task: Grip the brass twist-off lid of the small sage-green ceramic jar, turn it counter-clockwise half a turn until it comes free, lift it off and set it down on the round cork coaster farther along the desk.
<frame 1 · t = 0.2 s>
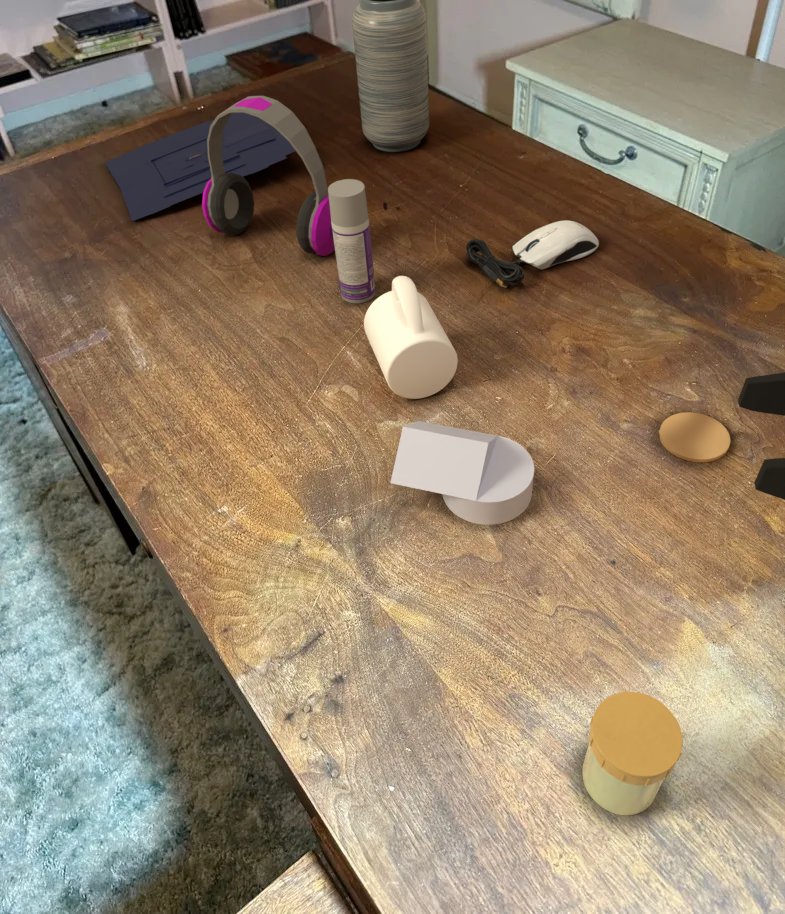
hand: (750, 431, 48), 23 cm above the table, tool horizontal, fingers open, 7 cm apart
lid: (636, 734, 51), point 7 cm above the table, screwed on, not yet turned
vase: (396, 142, 134), on the table
mug: (411, 372, 91), on the table
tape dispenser: (467, 487, 78), on the table
headphones: (279, 241, 113), on the table
coaster: (693, 438, 80), on the table
jar: (619, 777, 57), on the table
computer mouse: (538, 259, 106), on the table
container: (358, 294, 103), on the table
papers: (205, 171, 131), on the table
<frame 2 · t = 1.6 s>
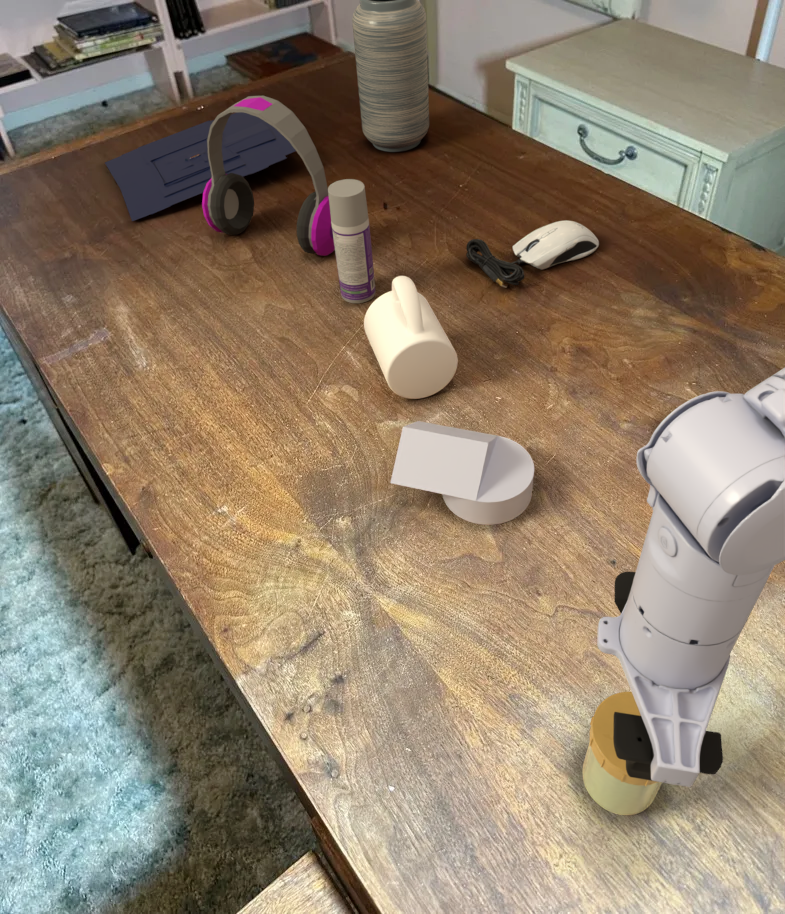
hand: (643, 714, 49), 10 cm above the table, tool pointing down, fingers open, 7 cm apart
nothing on the table moved.
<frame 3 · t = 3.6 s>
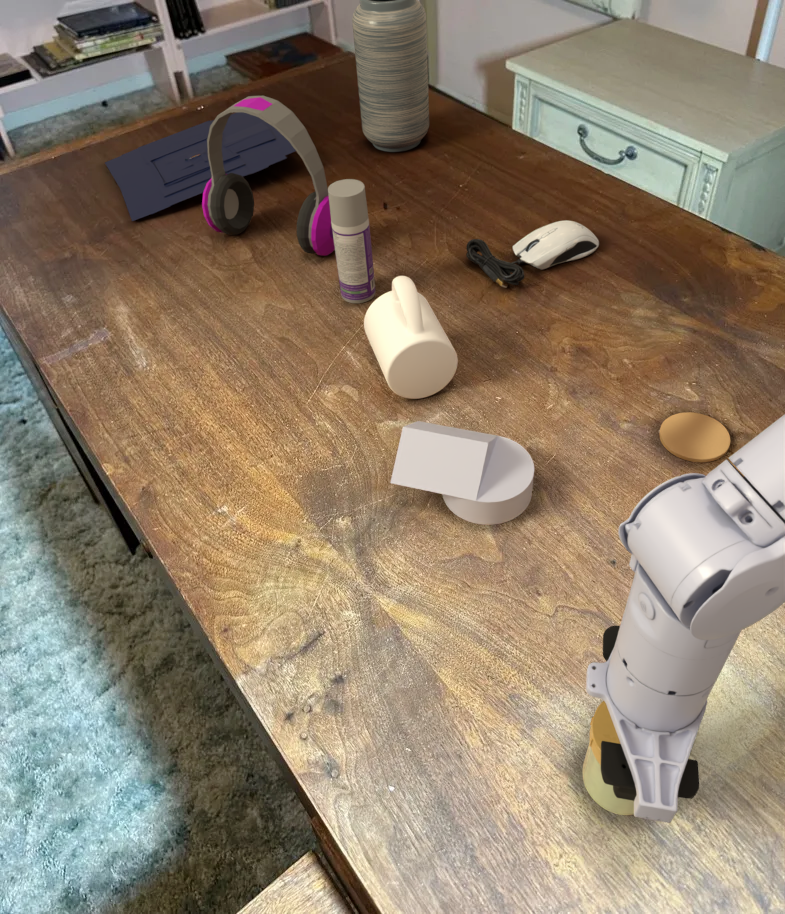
hand: (630, 748, 53), 5 cm above the table, tool pointing down, fingers closed on lid, 6 cm apart
lid: (636, 734, 51), point 7 cm above the table, screwed on, not yet turned, touching gripper
everything else where it was.
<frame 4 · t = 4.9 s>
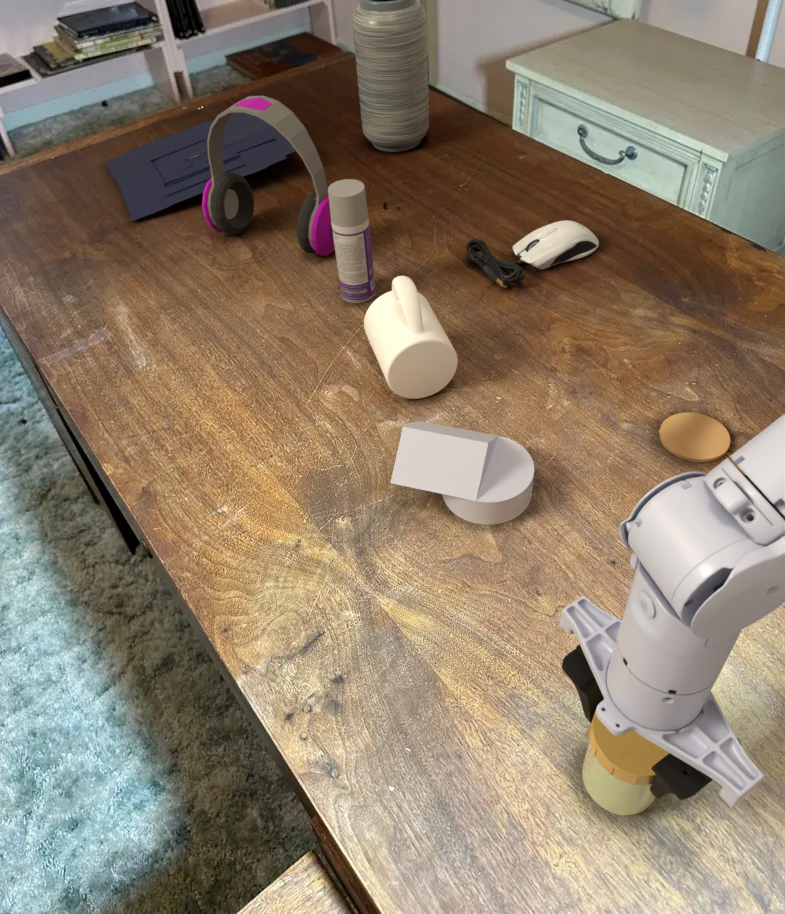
hand: (630, 748, 53), 5 cm above the table, tool pointing down, fingers closed on lid, 6 cm apart
lid: (636, 733, 51), point 8 cm above the table, turned 44° so far, risen 0.1 cm, still on its thread, touching gripper
everything else where it was.
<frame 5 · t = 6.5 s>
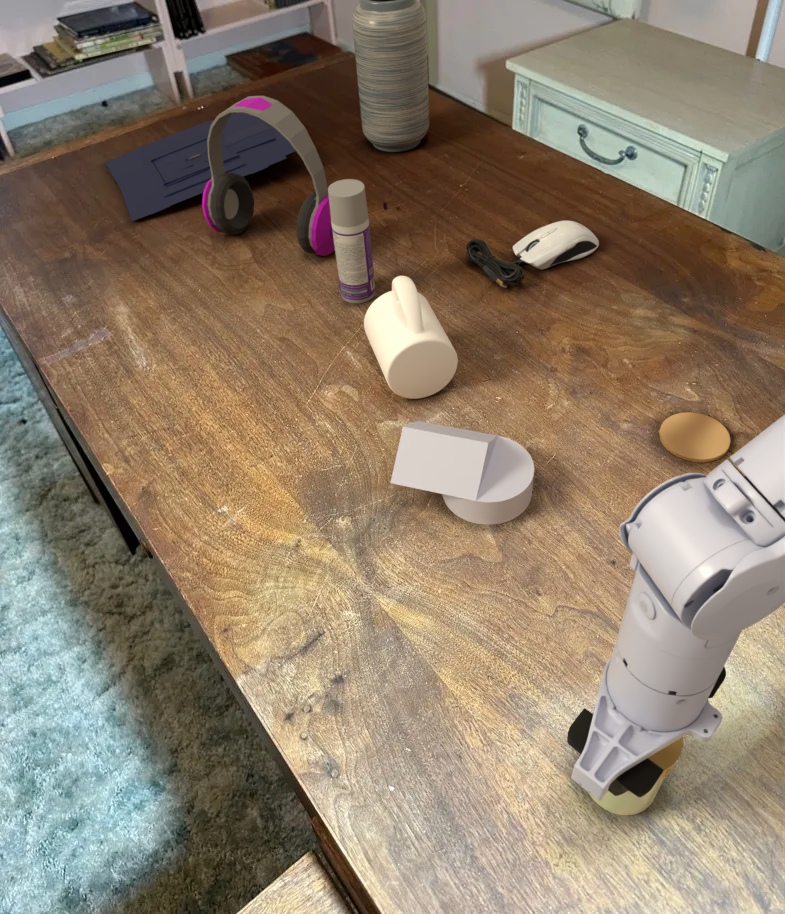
hand: (630, 748, 53), 5 cm above the table, tool pointing down, fingers closed on lid, 5 cm apart
lid: (636, 732, 51), point 8 cm above the table, off its thread, touching gripper
everything else where it was.
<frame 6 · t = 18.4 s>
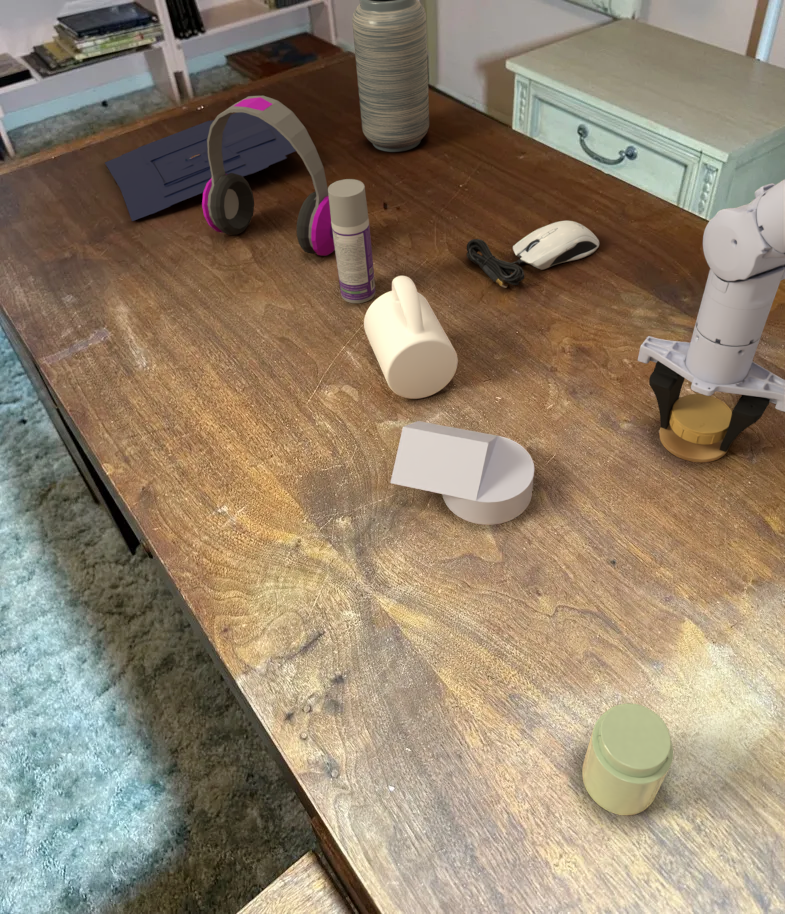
hand: (695, 433, 79), 1 cm above the table, tool pointing down, fingers closed on lid, 6 cm apart
lid: (701, 415, 78), point 3 cm above the table, off its thread, touching gripper
everything else where it was.
when the fingers open (3 cm above the table, at t = 28.7 s): lid drops 3 cm, resting on coaster.
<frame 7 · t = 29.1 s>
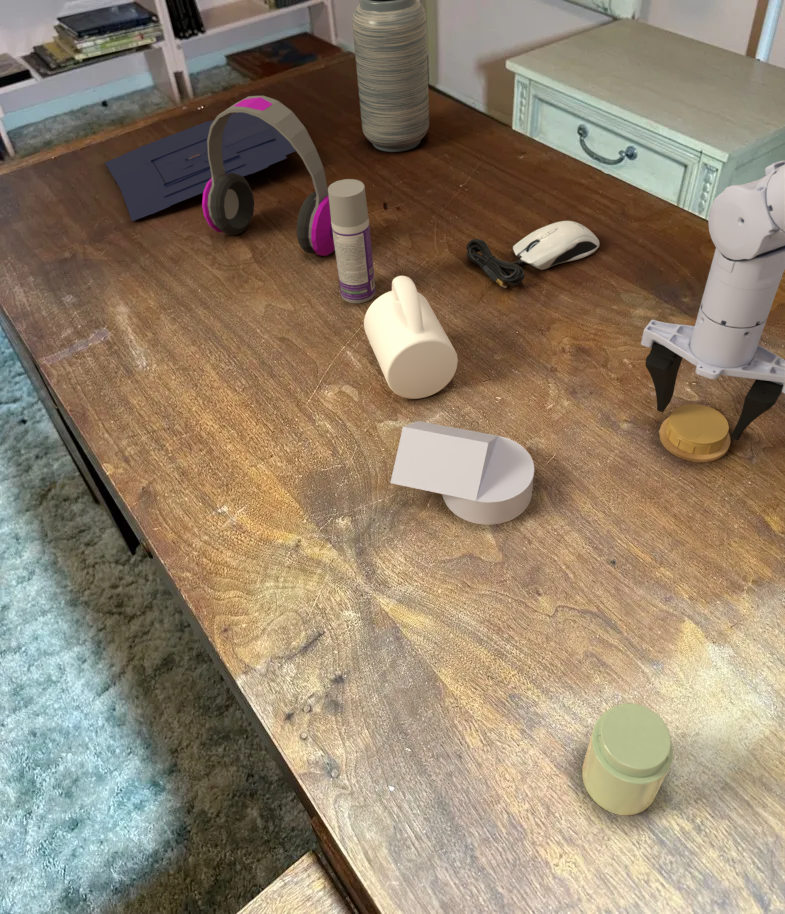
hand: (699, 419, 78), 3 cm above the table, tool pointing down, fingers open, 7 cm apart
lid: (698, 425, 79), point 2 cm above the table, off its thread, touching coaster
everything else where it was.
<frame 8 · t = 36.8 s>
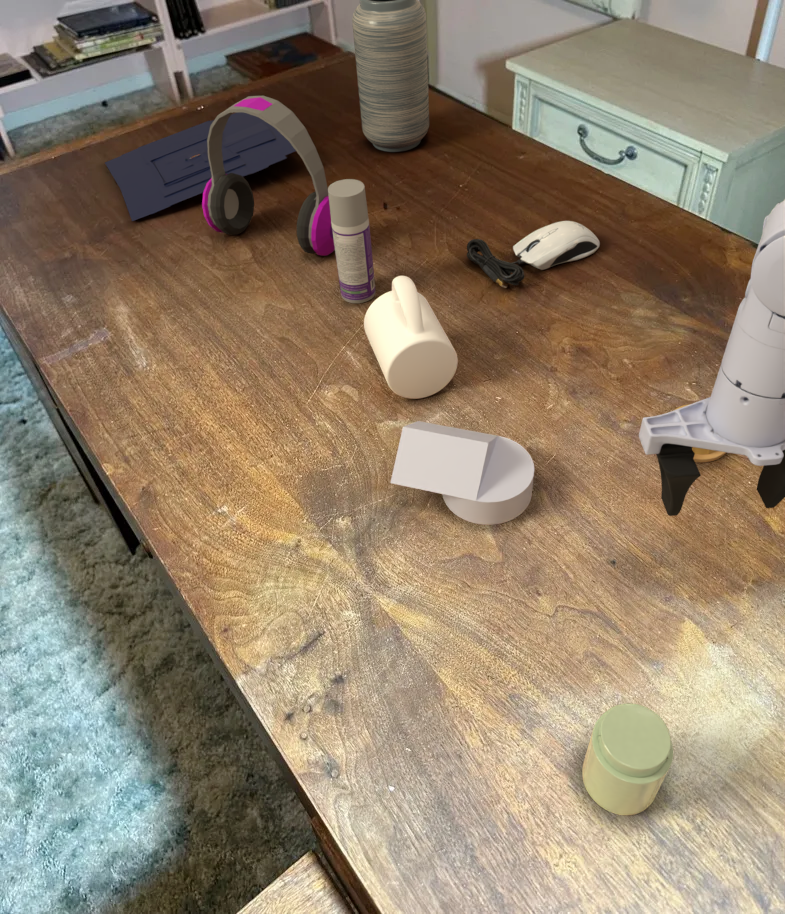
hand: (717, 502, 61), 10 cm above the table, tool pointing down, fingers open, 7 cm apart
nothing on the table moved.
at the end: lid turned 0.40 turns (no longer on its thread); lid 0.1 cm off-centre on the coaster, point 1.8 cm above the coaster's base; the gripper is holding nothing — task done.
